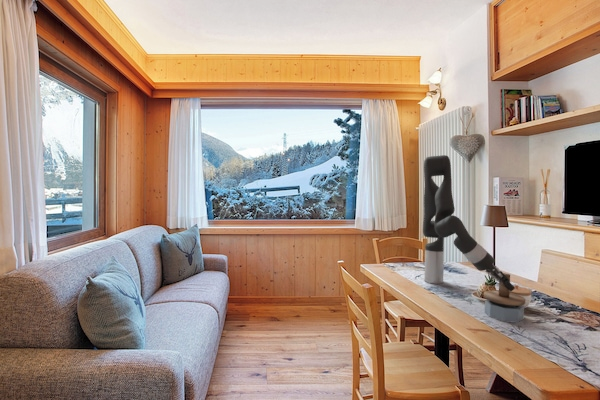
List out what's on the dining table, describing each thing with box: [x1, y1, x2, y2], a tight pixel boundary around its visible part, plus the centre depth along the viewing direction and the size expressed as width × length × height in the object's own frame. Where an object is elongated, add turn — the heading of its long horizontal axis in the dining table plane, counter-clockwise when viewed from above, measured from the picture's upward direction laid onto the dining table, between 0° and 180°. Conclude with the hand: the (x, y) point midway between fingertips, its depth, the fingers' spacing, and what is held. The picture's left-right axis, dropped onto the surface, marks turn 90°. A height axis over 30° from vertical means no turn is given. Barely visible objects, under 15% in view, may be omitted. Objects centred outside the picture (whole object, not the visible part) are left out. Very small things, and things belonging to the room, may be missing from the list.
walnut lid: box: [483, 272, 526, 306], centre depth 125 cm, size 14×14×10 cm
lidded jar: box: [510, 284, 533, 309], centre depth 135 cm, size 11×11×9 cm
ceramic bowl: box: [484, 298, 525, 323], centre depth 125 cm, size 12×12×5 cm
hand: (509, 287), depth 124 cm, fingers closed on walnut lid, 3 cm apart
